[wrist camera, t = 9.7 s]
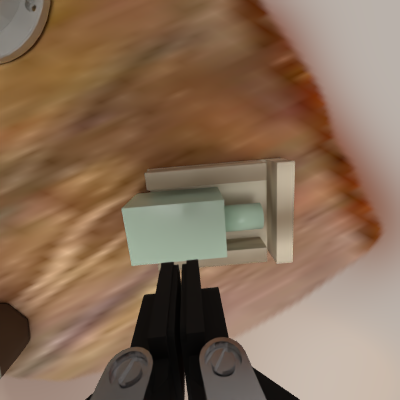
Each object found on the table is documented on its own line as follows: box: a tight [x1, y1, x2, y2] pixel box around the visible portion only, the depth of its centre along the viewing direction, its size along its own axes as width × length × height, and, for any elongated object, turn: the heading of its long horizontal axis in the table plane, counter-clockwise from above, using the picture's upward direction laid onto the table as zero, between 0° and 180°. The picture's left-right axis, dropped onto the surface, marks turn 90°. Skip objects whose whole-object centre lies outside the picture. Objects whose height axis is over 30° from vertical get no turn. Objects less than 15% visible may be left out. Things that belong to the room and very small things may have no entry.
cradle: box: [144, 158, 295, 271], centre depth 22 cm, size 10×13×3 cm
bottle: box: [122, 187, 264, 266], centre depth 21 cm, size 5×5×12 cm
